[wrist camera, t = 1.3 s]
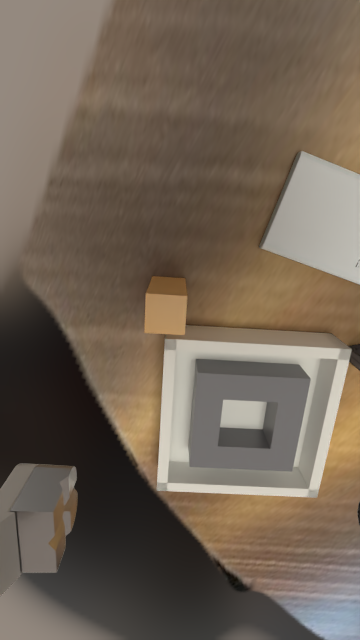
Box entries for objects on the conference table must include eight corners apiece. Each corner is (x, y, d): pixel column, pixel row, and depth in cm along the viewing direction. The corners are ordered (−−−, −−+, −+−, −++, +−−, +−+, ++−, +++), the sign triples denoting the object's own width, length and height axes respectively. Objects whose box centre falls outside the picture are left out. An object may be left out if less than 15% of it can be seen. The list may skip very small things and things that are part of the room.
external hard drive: (295, 153, 28) (423, 205, 29) (257, 247, 30) (377, 291, 32) (302, 149, 27) (437, 204, 28) (261, 248, 29) (387, 295, 30)
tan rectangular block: (152, 276, 31) (145, 293, 24) (185, 278, 31) (187, 296, 24) (151, 307, 32) (144, 332, 25) (183, 309, 32) (184, 335, 25)
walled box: (166, 323, 32) (164, 338, 28) (331, 333, 32) (351, 349, 29) (158, 461, 37) (156, 490, 33) (302, 468, 37) (316, 497, 33)
